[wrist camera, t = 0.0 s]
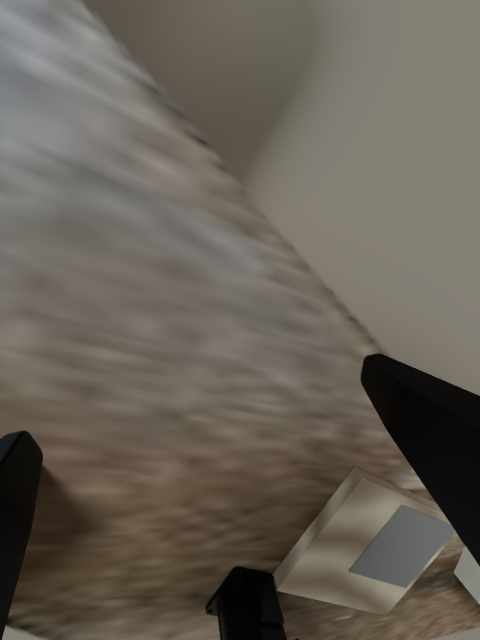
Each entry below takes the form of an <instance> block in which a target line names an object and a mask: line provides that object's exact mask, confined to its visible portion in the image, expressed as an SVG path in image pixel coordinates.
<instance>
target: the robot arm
mask: <svg viewBox="0 0 480 640" xmlns="http://www.w3.org/2000/svg"><path fill="white" fill-rule="evenodd" d="M361 383H362V385H363V387H364V389H365V391H366V393H367V395H368V397H369V398H370V400H371V402H372V404H373V406H374V408H375V409H376V411H377V413H378V415H379V417H380V419H381V420H382V422H383V424H384V426H385V428H386V429H387V431H388V432H389V434H390V436H391V437H392V439H393V440H394V442H395V443H396V445H397V446H398V447H399V449H400V450H401V452H402V453H403V455H404V456H405V458H406V459H407V461H408V462H409V464H410V465H411V467H412V468H413V469H414V471H415V472H416V474H417V475H418V477H419V478H420V480H421V481H422V483H423V484H424V486H425V487H426V489H427V490H428V492H429V493H430V494H431V496H432V497H433V499H434V500H435V502H436V503H437V505H438V506H439V508H440V509H441V511H442V512H443V514H444V515H445V517H446V518H447V519H448V521H449V522H450V524H451V525H452V527H453V528H454V530H455V531H456V533H457V534H458V536H459V537H460V539H461V540H462V541H463V543H464V544H465V546H466V547H467V549H468V550H469V552H470V553H471V555H472V556H473V558H474V559H475V561H476V562H477V564H478V565H479V566H480V396H479V395H476V394H474V393H471V392H469V391H467V390H464V389H462V388H460V387H458V386H455V385H453V384H450V383H448V382H446V381H444V380H441V379H439V378H436V377H434V376H432V375H429V374H427V373H425V372H423V371H420V370H418V369H416V368H413V367H411V366H408V365H406V364H404V363H402V362H399V361H397V360H395V359H392V358H390V357H388V356H385V355H383V354H380V353H377V354H372V355H368V356H366V357H365V358H364V361H363V366H362V371H361ZM42 461H43V454H42V451H41V449H40V447H39V446H38V445H37V443H36V442H35V440H34V439H33V437H32V436H31V435H30V433H29V432H27V431H18V432H14V433H9V434H7V435H5V436H3V437H2V438H1V439H0V640H2V637H3V632H4V629H5V625H6V622H7V618H8V614H9V610H10V607H11V603H12V599H13V595H14V592H15V588H16V584H17V581H18V577H19V573H20V569H21V566H22V562H23V558H24V554H25V551H26V547H27V543H28V540H29V536H30V532H31V527H32V523H33V517H34V512H35V506H36V499H37V493H38V487H39V480H40V474H41V468H42ZM274 580H275V579H274V576H272V575H268V574H264V573H260V572H256V571H252V570H248V569H244V568H240V567H236V568H234V569H233V570H232V571H231V572H230V574H229V575H228V577H227V578H226V579H225V581H224V582H223V583H222V585H221V586H220V587H219V589H218V590H217V592H216V593H215V594H214V596H213V597H212V598H211V600H210V601H209V602H208V604H207V605H206V607H205V609H206V614H209V615H215V616H218V622H219V631H220V640H287V638H286V635H285V631H284V627H283V624H284V619H283V615H282V612H281V608H280V605H279V601H278V597H277V594H276V589H275V585H274ZM296 640H299V639H296Z"/></svg>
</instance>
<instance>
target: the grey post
mask: <svg viewBox="0 0 480 640" xmlns="http://www.w3.org/2000/svg"><path fill="white" fill-rule="evenodd" d="M454 574H455V575H456V576H457V577H458V579H459V580H460V581H461V582H462V584H463V585H464V586H465V587H466V589H467V590H468V591H469V592H470V593H471V595H472V596H473V597H474V598H475V600H476V601H477V602H478V603H479V604H480V566H479V565H478V564H477V562H476V561H475V559H474V558H473V556H472V555H471V553H470V552H469V550H468V549H467V547H466V546H465V548H464V550H463V553H462V555H461V557H460V560H459V562H458V564H457V567H456V569H455V571H454Z"/></svg>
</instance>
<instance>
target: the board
mask: <svg viewBox="0 0 480 640" xmlns="http://www.w3.org/2000/svg"><path fill="white" fill-rule="evenodd" d="M455 534H456V531H455V530H454V528H453V527H452V525H451V524H450V522H449V521H448V519H447V518H446V517H445V515H444V514H443V512H442V511H441V509H440V508H439V506H438V505H437V504H436V503H434V502H432V501H430V500H427V499H425V498H423V497H421V496H419V495H416V494H414V493H412V492H410V491H407V490H405V489H403V488H401V487H398V486H396V485H394V484H392V483H389V482H387V481H385V480H383V479H381V478H378V477H376V476H374V475H372V474H369V473H367V472H365V471H363V470H360V469H358V468H356V467H354V468H353V469H352V470H351V472H350V473H349V474H348V476H347V477H346V478H345V480H344V481H343V482H342V484H341V485H340V486H339V488H338V489H337V490H336V492H335V493H334V494H333V496H332V497H331V498H330V499H329V501H328V502H327V503H326V505H325V506H324V507H323V509H322V510H321V511H320V513H319V514H318V515H317V517H316V518H315V519H314V521H313V522H312V523H311V525H310V526H309V527H308V528H307V530H306V531H305V532H304V534H303V535H302V536H301V538H300V539H299V540H298V542H297V543H296V544H295V546H294V547H293V548H292V550H291V551H290V552H289V554H288V555H287V556H286V557H285V559H284V560H283V561H282V563H281V564H280V565H279V567H278V568H277V569H276V571H275V572H274V573H273V575H272V576H274V579H275V580H274V585H275V589H276V591H280V592H284V593H289V594H293V595H298V596H302V597H306V598H311V599H315V600H319V601H324V602H328V603H333V604H337V605H341V606H346V607H350V608H355V609H359V610H363V611H368V612H372V613H377V614H381V615H385V616H386V615H387V614H388V613H389V612H390V611H391V609H392V608H393V607H394V606H395V605H396V604H397V602H398V601H399V600H400V599H401V598H402V597H403V595H404V594H405V593H406V592H407V591H408V589H409V588H410V587H411V586H412V585H413V584H414V582H415V581H416V580H417V579H418V578H419V577H420V575H421V574H422V573H423V572H424V571H425V570H426V568H427V567H428V566H429V565H430V564H431V563H432V561H433V560H434V559H435V558H436V557H437V555H438V554H439V553H440V552H441V551H442V550H443V548H444V547H445V546H446V545H447V544H448V543H449V541H450V540H451V539H452V538H453V537H454V536H455Z"/></svg>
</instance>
